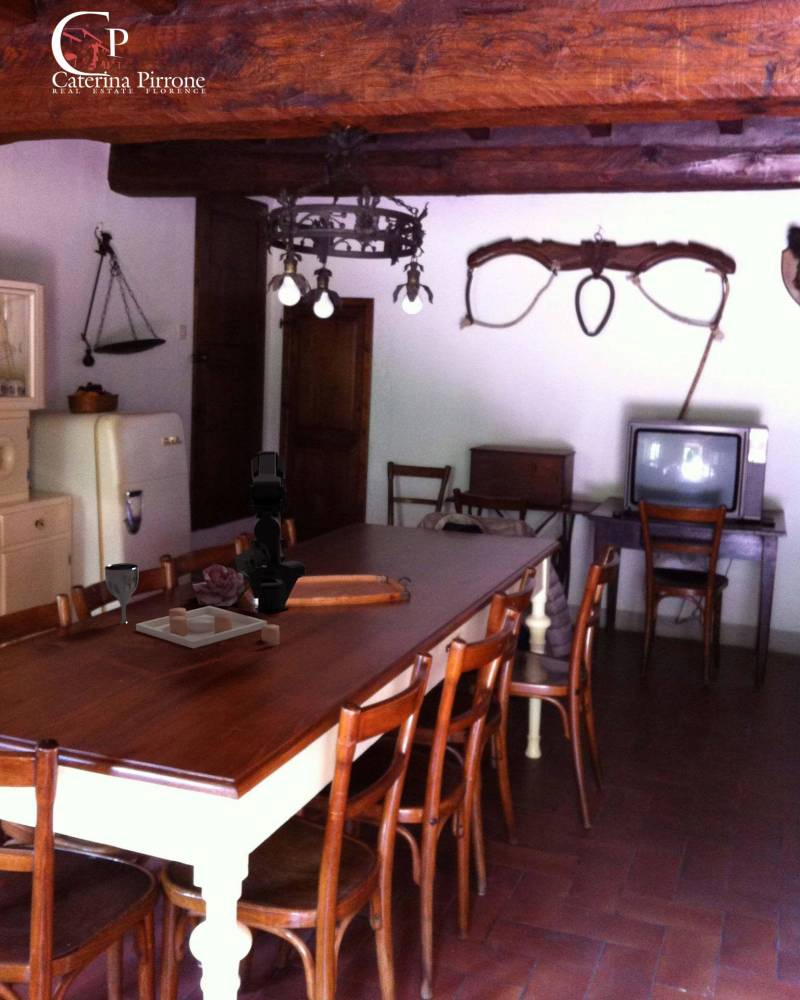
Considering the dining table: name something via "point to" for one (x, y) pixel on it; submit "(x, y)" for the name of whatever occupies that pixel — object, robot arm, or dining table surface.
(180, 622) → the seated bead
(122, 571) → the wine glass
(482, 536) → the dining table surface
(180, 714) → the dining table surface
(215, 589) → the flower
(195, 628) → the groove dish
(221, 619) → the beige cube
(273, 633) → the pale tan cube
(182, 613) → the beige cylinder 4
